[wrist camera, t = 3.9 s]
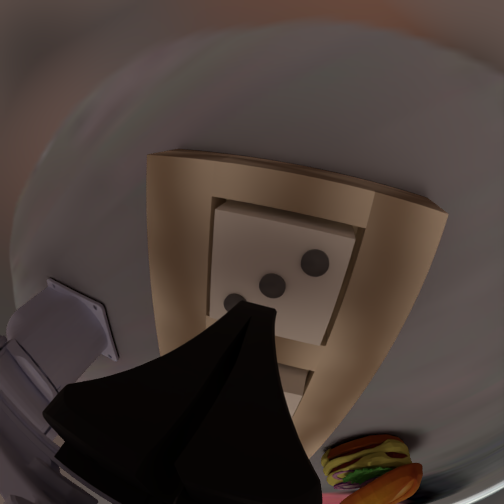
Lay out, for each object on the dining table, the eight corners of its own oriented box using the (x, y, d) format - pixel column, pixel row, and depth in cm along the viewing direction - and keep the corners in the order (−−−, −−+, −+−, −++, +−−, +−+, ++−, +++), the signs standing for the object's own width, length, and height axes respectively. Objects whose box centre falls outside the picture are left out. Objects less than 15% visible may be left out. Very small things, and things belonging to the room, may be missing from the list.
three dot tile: (225, 292, 16) (207, 319, 14) (233, 196, 14) (213, 210, 11) (322, 316, 15) (319, 348, 13) (351, 220, 13) (355, 241, 10)
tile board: (187, 414, 27) (177, 433, 24) (177, 148, 15) (147, 154, 12) (304, 447, 24) (299, 468, 22) (427, 198, 12) (448, 214, 9)
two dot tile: (214, 390, 19) (201, 416, 17) (216, 340, 17) (199, 369, 14) (287, 411, 18) (280, 439, 16) (308, 364, 16) (302, 398, 13)
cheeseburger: (319, 432, 22) (330, 517, 13) (415, 406, 21) (445, 479, 12) (319, 465, 26) (326, 529, 16) (397, 445, 25) (415, 504, 15)
